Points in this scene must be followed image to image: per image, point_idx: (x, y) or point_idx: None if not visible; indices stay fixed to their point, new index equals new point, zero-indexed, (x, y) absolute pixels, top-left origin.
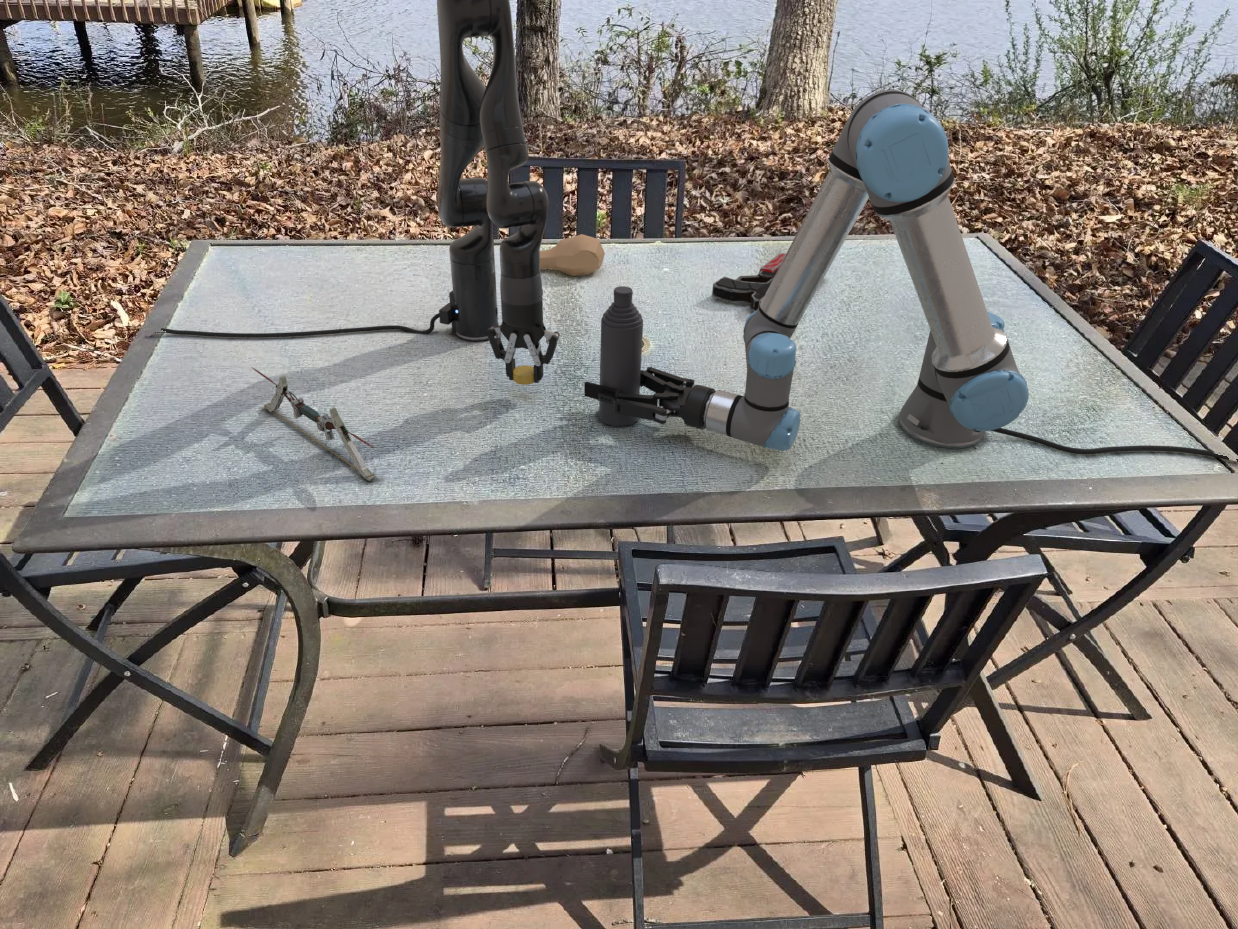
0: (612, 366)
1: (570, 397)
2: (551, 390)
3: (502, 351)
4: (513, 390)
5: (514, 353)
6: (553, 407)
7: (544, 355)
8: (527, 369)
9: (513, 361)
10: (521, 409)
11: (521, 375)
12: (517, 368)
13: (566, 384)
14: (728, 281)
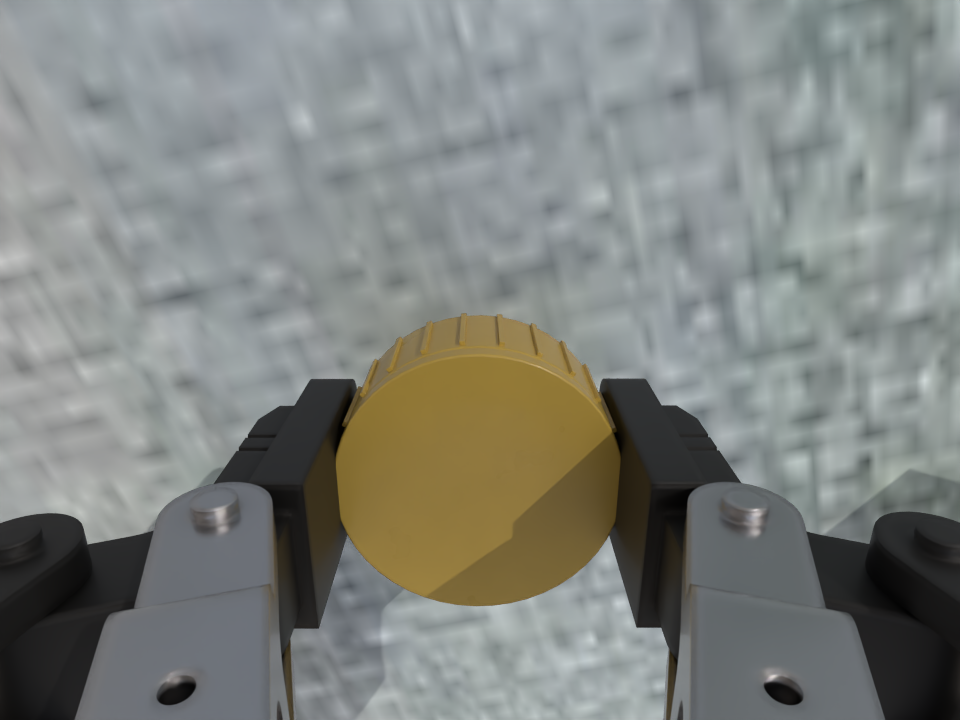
0: None
1: (863, 282)
2: (680, 196)
3: (67, 675)
4: (342, 275)
5: (276, 562)
6: (733, 460)
7: (860, 630)
8: (507, 458)
9: (311, 553)
10: None
11: (478, 601)
12: (374, 457)
13: (815, 35)
14: None
